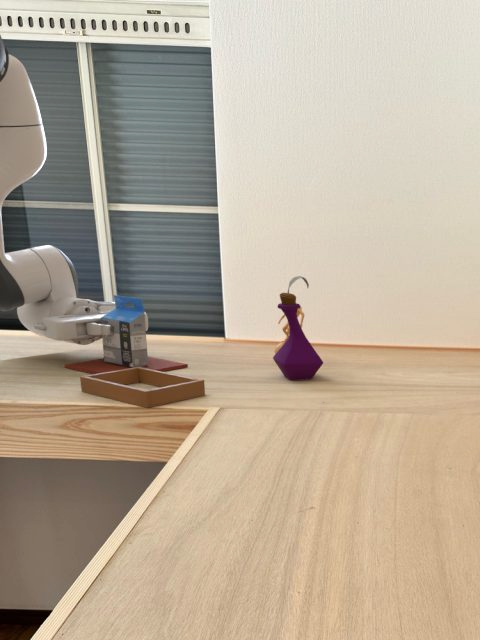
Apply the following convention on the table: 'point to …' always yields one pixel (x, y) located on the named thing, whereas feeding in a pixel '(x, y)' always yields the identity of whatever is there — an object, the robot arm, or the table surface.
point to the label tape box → (126, 333)
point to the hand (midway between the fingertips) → (123, 329)
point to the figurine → (288, 328)
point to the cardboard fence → (116, 389)
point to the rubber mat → (102, 366)
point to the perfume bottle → (296, 343)
